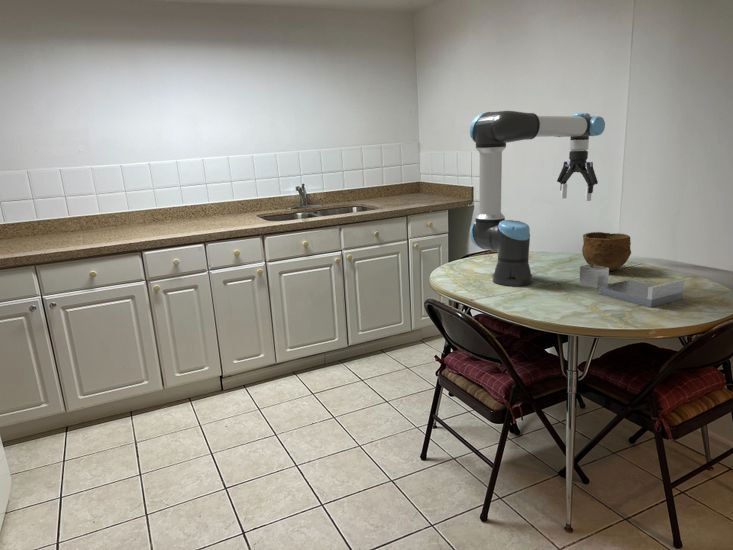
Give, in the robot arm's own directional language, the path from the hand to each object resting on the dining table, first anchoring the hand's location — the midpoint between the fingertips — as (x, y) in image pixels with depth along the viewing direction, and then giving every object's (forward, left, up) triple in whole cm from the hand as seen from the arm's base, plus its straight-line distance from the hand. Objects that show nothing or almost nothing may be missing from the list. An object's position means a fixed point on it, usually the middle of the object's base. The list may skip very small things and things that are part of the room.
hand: (575, 199), depth 240 cm
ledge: (-27, -53, -27) cm, 65 cm away
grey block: (-27, -34, -28) cm, 51 cm away
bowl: (-4, -21, -28) cm, 35 cm away
